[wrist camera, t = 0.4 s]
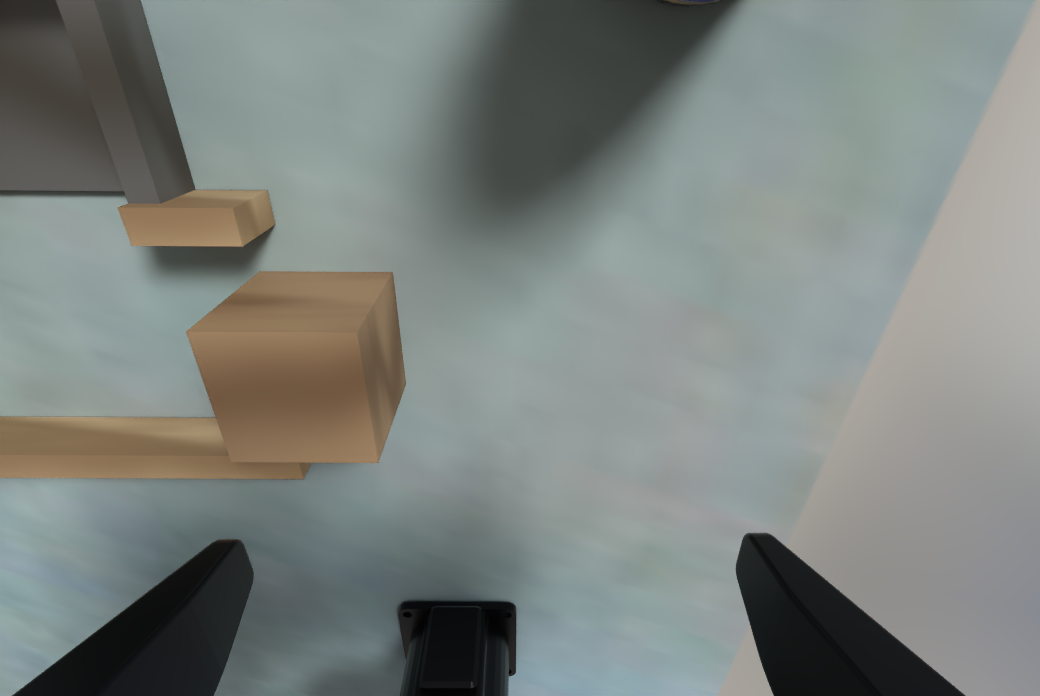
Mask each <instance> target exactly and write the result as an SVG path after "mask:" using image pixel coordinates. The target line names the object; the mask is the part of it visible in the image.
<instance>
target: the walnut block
mask: <svg viewBox="0 0 1040 696" xmlns="http://www.w3.org/2000/svg"><path fill="white" fill-rule="evenodd" d="M186 333H187V336H188V338H189V341H190V344H191V347H192V350H193V353H194V356H195V359H196V362H197V364H198V367H199V370H200V373H201V376H202V379H203V382H204V385H205V388H206V391H207V393H208V396H209V399H210V402H211V405H212V408H213V411H214V414H215V417H216V419H217V422H218V425H219V428H220V431H221V434H222V437H223V440H224V443H225V445H226V448H227V451H228V454H229V457H230V460H231V462H308V463H378V462H379V460H380V457H381V454H382V451H383V448H384V445H385V442H386V440H387V437H388V434H389V431H390V428H391V425H392V422H393V419H394V417H395V414H396V411H397V408H398V405H399V402H400V399H401V397H402V394H403V391H404V388H405V385H406V380H405V371H404V363H403V354H402V346H401V338H400V329H399V321H398V312H397V304H396V295H395V287H394V278H393V272H269V271H260V272H258V273H257V274H256V275H255V276H254V277H252V278H251V279H250V280H249V281H247V282H246V283H245V284H244V285H243V286H241V287H240V288H239V289H238V290H236V291H235V292H234V293H233V294H232V295H230V296H229V297H228V298H227V299H225V300H224V301H223V302H222V303H221V304H219V305H218V306H217V307H216V308H214V309H213V310H212V311H211V312H210V313H208V314H207V315H206V316H205V317H203V318H202V319H201V320H200V321H198V322H197V323H196V324H195V325H194V326H192V327H191V328H190V329H189V330H187V331H186Z"/></svg>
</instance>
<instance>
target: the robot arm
mask: <svg viewBox="0 0 1040 696" xmlns="http://www.w3.org/2000/svg"><path fill="white" fill-rule="evenodd" d="M736 575H737V580H738V583H739V587H740V590H741V594H742V597H743V601H744V604H745V608H746V611H747V615H748V618H749V622H750V625H751V629H752V632H753V636H754V640H755V643H756V647H757V650H758V653H759V657H760V660H761V663H762V666H763V669H764V672H765V674H766V677H767V680H768V682H769V685H770V687H771V690H772V692H773V695H774V696H965V695H964V694H963V693H962V692H960V691H959V690H958V689H957V688H956V687H954V686H953V685H952V684H951V683H950V682H948V681H947V680H946V679H945V678H944V677H942V676H941V675H940V674H939V673H938V672H936V671H935V670H934V669H933V668H932V667H930V666H929V665H928V664H927V663H925V662H924V661H923V660H922V659H921V658H920V657H918V656H917V655H916V654H915V653H913V652H912V651H911V650H910V649H909V648H907V647H906V646H905V645H904V644H903V643H901V642H900V641H899V640H898V639H897V638H895V637H894V636H893V635H892V634H891V633H889V632H888V631H887V630H886V629H885V628H883V627H882V626H881V625H880V624H879V623H877V622H876V621H875V620H874V619H873V618H871V617H870V616H869V615H868V614H866V613H865V612H864V611H863V610H862V609H860V608H859V607H858V606H857V605H855V604H854V603H853V602H852V601H851V600H850V599H848V598H847V597H846V596H845V595H843V594H842V593H841V592H840V591H839V590H838V589H836V588H835V587H834V586H833V585H832V584H830V583H829V582H828V581H827V580H825V579H824V578H823V577H822V576H821V575H819V574H818V573H817V572H816V571H815V570H813V569H812V568H811V567H810V566H808V565H807V564H806V563H805V562H804V561H802V560H801V559H800V558H799V557H798V556H797V555H795V554H794V553H793V552H792V551H791V550H789V549H788V548H787V547H786V546H784V545H783V544H782V543H781V542H780V541H778V540H777V539H776V538H775V537H774V536H772V535H770V534H768V533H747V534H746V535H745V536H744V537H743V540H742V543H741V547H740V551H739V555H738V559H737V563H736ZM252 583H253V568H252V566H251V563H250V560H249V557H248V554H247V552H246V549H245V546H244V544H243V542H242V541H240V540H238V539H226V540H217V541H215V542H213V543H211V544H210V545H209V546H207V547H206V548H205V549H203V550H202V551H201V552H200V553H198V554H197V555H196V556H194V557H193V558H192V559H190V560H189V561H188V562H186V563H185V564H184V565H183V566H181V567H180V568H179V569H177V570H176V571H175V572H173V573H172V574H171V575H169V576H168V577H167V578H165V579H164V580H163V581H162V582H160V583H159V584H158V585H156V586H155V587H154V588H152V589H151V590H150V591H148V592H147V593H146V594H145V595H143V596H142V597H141V598H139V599H138V600H137V601H135V602H134V603H133V604H131V605H130V606H129V607H128V608H126V609H125V610H124V611H122V612H121V613H120V614H118V615H117V616H116V617H114V618H113V619H112V620H110V621H109V622H108V623H107V624H105V625H104V626H103V627H101V628H100V629H99V630H97V631H96V632H95V633H93V634H92V635H91V636H90V637H88V638H87V639H86V640H84V641H83V642H82V643H80V644H79V645H78V646H76V647H75V648H74V649H73V650H71V651H70V652H69V653H67V654H66V655H65V656H63V657H62V658H61V659H59V660H58V661H57V662H56V663H54V664H53V665H52V666H50V667H49V668H48V669H46V670H45V671H44V672H42V673H41V674H40V675H38V676H37V677H36V678H35V679H33V680H32V681H31V682H29V683H28V684H27V685H25V686H24V687H23V688H21V689H20V690H19V691H18V692H16V693H15V694H14V695H12V696H213V695H214V693H215V691H216V688H217V686H218V684H219V681H220V679H221V676H222V674H223V671H224V668H225V666H226V663H227V660H228V657H229V654H230V651H231V648H232V645H233V642H234V639H235V636H236V633H237V630H238V626H239V623H240V620H241V617H242V614H243V611H244V608H245V605H246V602H247V599H248V596H249V593H250V590H251V587H252ZM398 615H399V621H400V627H401V633H402V639H403V645H404V651H405V657H406V665H405V670H404V676H403V681H402V686H401V692H400V696H508V680H509V676H512V675H514V674H515V673H516V606H515V605H514V604H512V603H457V602H407V603H403V604H401V605H400V609H399V614H398Z"/></svg>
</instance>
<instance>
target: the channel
mask: <svg viewBox="0 0 1040 696" xmlns="http://www.w3.org/2000/svg"><path fill="white" fill-rule="evenodd" d="M0 190H29V191H124V193H125V195H126V198H127V201H128V204H126V205H123V206H120V207H118V210H119V213H120V215H121V218H122V221H123V224H124V226H125V229H126V232H127V234H128V237H129V240H130V243H131V245H132V246H238V247H243V246H244V245H246V244H247V243H249V242H250V241H252V240H253V239H255V238H256V237H258V236H259V235H261V234H262V233H264V232H265V231H267V230H268V229H270V228H271V227H272V226H274V225H275V221H274V217H273V212H272V208H271V203H270V199H269V194H268V190H195V187H194V183H193V180H192V177H191V173H190V170H189V166H188V163H187V159H186V156H185V152H184V149H183V146H182V142H181V139H180V135H179V132H178V128H177V125H176V121H175V118H174V115H173V111H172V108H171V104H170V101H169V97H168V94H167V90H166V87H165V84H164V80H163V77H162V73H161V70H160V66H159V63H158V59H157V56H156V53H155V49H154V46H153V42H152V39H151V35H150V32H149V29H148V25H147V22H146V18H145V15H144V11H143V8H142V4H141V1H140V0H0ZM310 465H311V463H308V462H231V460H230V457H229V454H228V451H227V448H226V445H225V443H224V440H223V437H222V434H221V431H220V428H219V425H218V422H217V419H216V418H167V417H0V478H188V479H304V477H305V475H306V473H307V471H308V469H309V467H310Z"/></svg>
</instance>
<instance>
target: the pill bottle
mask: <svg viewBox="0 0 1040 696" xmlns="http://www.w3.org/2000/svg"><path fill="white" fill-rule="evenodd" d="M657 1H659V2H661V3H665V4H669V5H674V6H700V5H706V4H710V3H714V2H717V1H719V0H657Z"/></svg>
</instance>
